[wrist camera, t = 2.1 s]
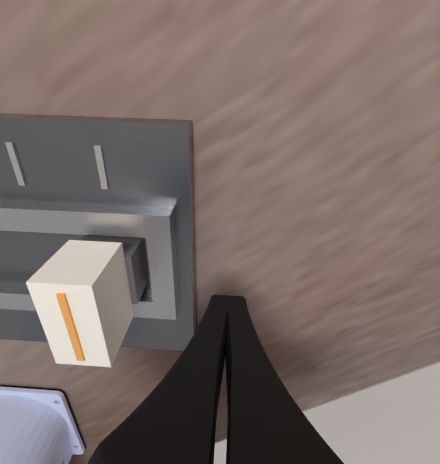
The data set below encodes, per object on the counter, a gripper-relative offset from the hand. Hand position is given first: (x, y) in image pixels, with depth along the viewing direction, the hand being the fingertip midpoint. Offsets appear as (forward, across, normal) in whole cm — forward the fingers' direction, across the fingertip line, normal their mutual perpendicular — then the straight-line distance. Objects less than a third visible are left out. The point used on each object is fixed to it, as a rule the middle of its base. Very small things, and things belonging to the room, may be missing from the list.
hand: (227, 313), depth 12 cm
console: (+5, +13, 0) cm, 14 cm away
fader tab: (+3, +6, 0) cm, 7 cm away
